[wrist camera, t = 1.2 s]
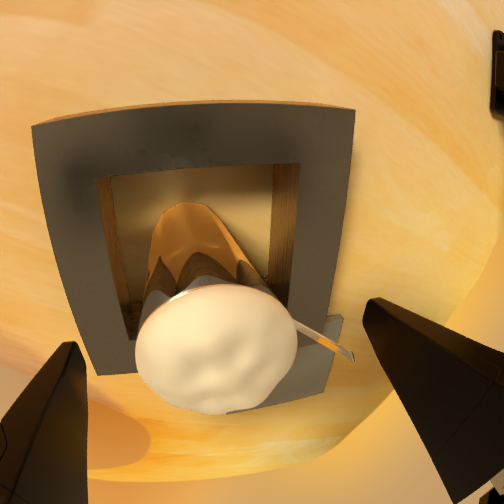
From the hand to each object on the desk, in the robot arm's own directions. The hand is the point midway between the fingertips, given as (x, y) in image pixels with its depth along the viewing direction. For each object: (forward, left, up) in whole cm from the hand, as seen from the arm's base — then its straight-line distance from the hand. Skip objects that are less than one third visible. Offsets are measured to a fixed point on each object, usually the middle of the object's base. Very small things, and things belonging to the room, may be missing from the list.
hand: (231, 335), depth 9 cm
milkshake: (0, 0, -8) cm, 8 cm away
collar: (0, 0, -8) cm, 8 cm away
